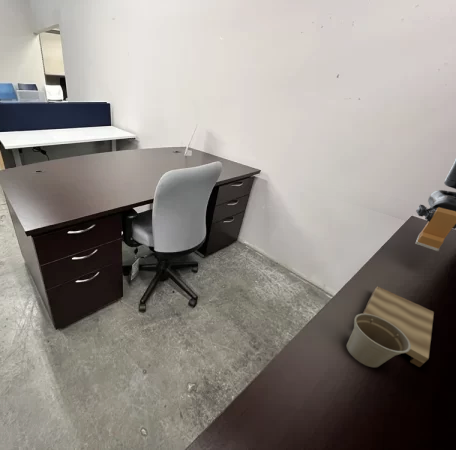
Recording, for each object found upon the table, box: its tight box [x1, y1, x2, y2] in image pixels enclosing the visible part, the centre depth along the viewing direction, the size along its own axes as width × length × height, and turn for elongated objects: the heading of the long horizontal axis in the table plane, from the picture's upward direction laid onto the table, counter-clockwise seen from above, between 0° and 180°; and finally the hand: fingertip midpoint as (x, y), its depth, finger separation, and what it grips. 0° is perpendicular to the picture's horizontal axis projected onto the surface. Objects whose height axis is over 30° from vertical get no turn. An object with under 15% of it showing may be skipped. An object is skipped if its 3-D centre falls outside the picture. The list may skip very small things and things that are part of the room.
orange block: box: [415, 207, 456, 252], centre depth 79 cm, size 10×5×11 cm, turn 130°
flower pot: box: [346, 313, 411, 368], centre depth 53 cm, size 9×9×9 cm
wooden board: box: [362, 286, 435, 368], centre depth 62 cm, size 20×12×4 cm, turn 131°
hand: (442, 222), depth 77 cm, fingers closed on orange block, 5 cm apart
